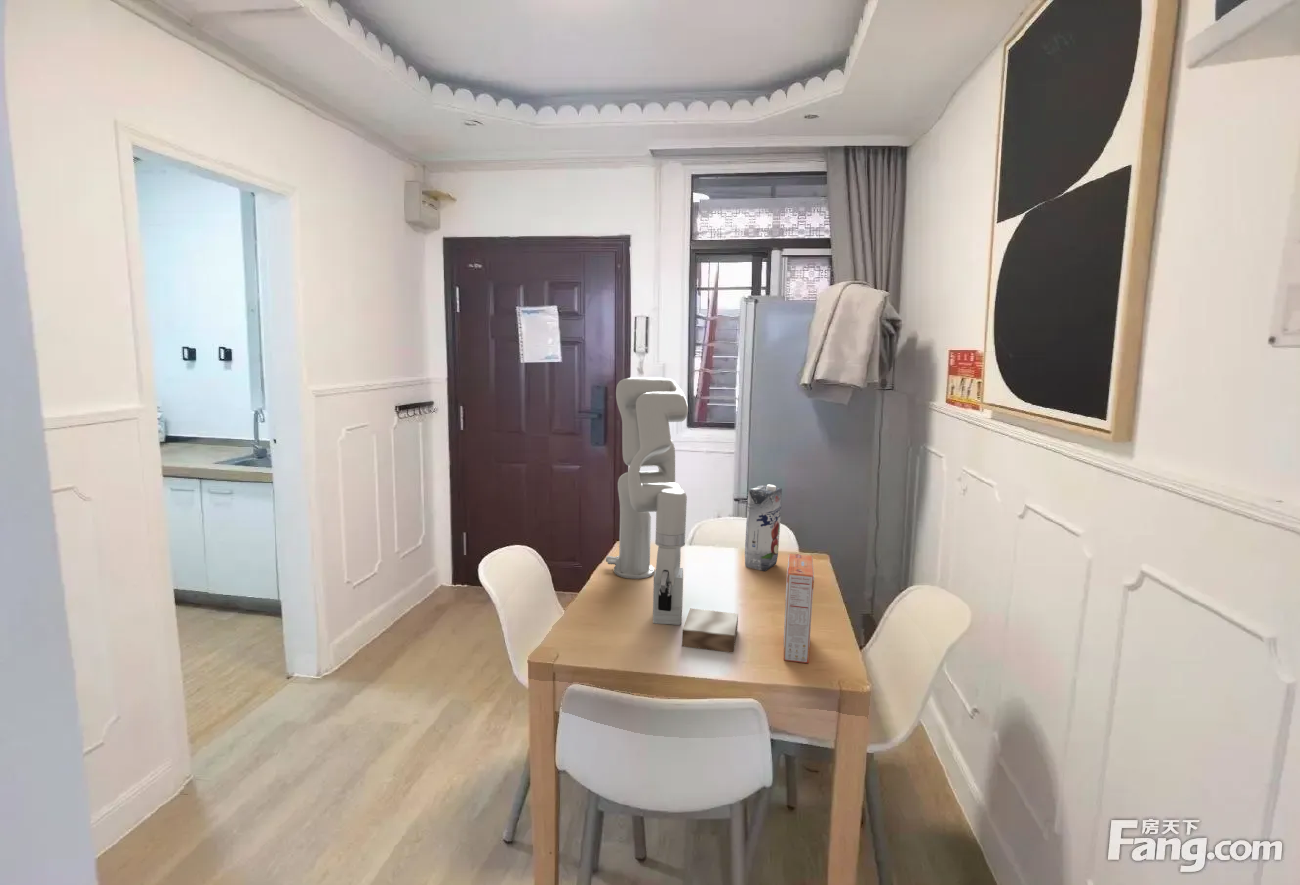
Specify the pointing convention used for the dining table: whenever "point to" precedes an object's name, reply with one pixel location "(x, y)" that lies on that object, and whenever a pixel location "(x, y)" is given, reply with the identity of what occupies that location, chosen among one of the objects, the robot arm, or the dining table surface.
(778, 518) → the juice carton
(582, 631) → the dining table surface
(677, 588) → the supplement box
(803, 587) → the cracker box
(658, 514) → the robot arm
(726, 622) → the base block
